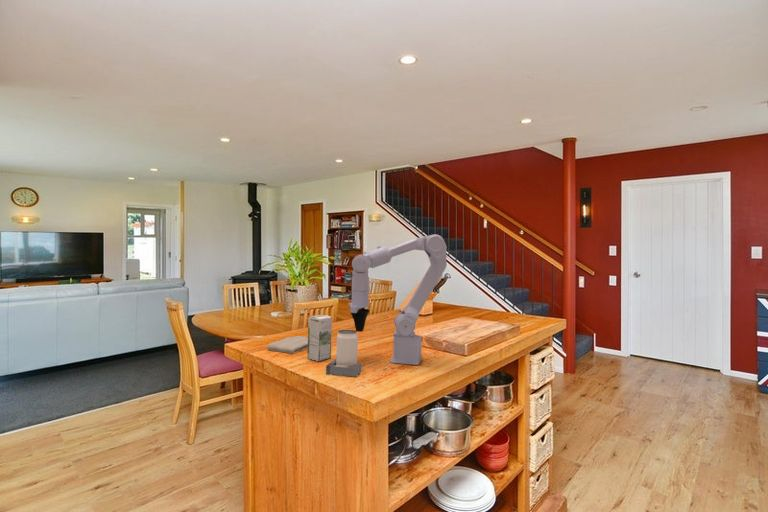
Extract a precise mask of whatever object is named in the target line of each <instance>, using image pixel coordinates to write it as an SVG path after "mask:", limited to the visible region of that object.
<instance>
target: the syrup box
mask: <svg viewBox="0 0 768 512" xmlns="http://www.w3.org/2000/svg"><path fill="white" fill-rule="evenodd" d="M332 320H333V317H332V316H329V315H326V314H317V315H312V316H308V321H307V323H308V325H307V327H308V328H307V330H308V331H307V338H308V349H307V354H306V355H307V356H306V357H307V358H306V359H308V360H311V359H312V360H311V361H314V360H316V361H315V362H318V361H319V362H322V361H326V360H328V359H331V357H332V356H331V355H332V331H333V330H332V328H333V326H332V325H333V324H332V323H333V321H332Z"/></svg>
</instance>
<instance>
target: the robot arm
mask: <svg viewBox="0 0 768 512" xmlns="http://www.w3.org/2000/svg"><path fill="white" fill-rule="evenodd" d="M447 249H448V246H447V244H446V241H445V240H444V238H443V237H442V236H441V235H439V234H435V233H434V234H430V235H426V236H422V237H415V238H412V239H410V240H408V241H405V242H402V243H400V244H398V245H397V244H396V245H394V246H392V247H387V246H385V245H382V246H381V245H378V246H376V248H375V249H372V250H370V251H363V254H358V255H356V256H354V258H353V259H352V261H351V268H352V269H353V270H352V272H351V273H352V277H351V302H348V303H347V305H348V306H350V307H349V308H350V309H349V310H350V311H349V312H350V315H351V317H352V319H353V323H354V329H355V331H357V332H360V333H361V332H364V330H365V325H366V321H367V318H368V317H367V316H368V315H369V313H370V309H369V307H370V303H369V302H370V301H369V297H370V295H369V293H370V292H369V291H370V290H369V289H370V277H369V269H370V268H371V269H375V268H378V267H380V266H382V265H385V264H387V263H390V262H391V261H392V258H393V257H396V256H399V255H402V254H405V253H408V252H411V251H414V250H416V251H424V252H425V254H426V255H427V256H428V257H427V258H428V260H429V263H430V265H429V267H428V268H427V271H426V273H425V274H424V276H423V278H422V279H421V281H420V282H419V284H418V286H417V288H416V290H415V291H414V293H413V294H412V295H411V298H410V299H409V301H408V303H407V304H406V306H404V308H403V309H402V311H401V312H399V313H398V314H396V316H395V318H394V322H393V323H394V326H395V330H394V332H393V342H392V343H393V348H392V349H393V350H392V353H393V354H392V357H391V359H390V361H389V363H391V364H403V365H413V366H414V365H415V366H418V365H419V364H420V362H421V361H422V345H423V343H422V336H421V335H416V333H415V329H416V323H417V321H418V319H419V316H420V312H421V311H422V309H423V307H424V306H425V304H426V302H427V300H429V298H430V296H431V294H432V292H433V290H434V288H435V287H436V286H437V283H438V282H439V280H440V279H441V277H442V275H443V274H444V272H445V270H446V268H447Z"/></svg>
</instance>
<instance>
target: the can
mask: <svg viewBox="0 0 768 512" xmlns="http://www.w3.org/2000/svg"><path fill="white" fill-rule="evenodd" d="M358 340H359V337H358V331H356V329H355V330H354V329H340V330H338V333H337V335H336V350H335V351H336V353H335V355H336V356H335V359H336V365H347V366H348V367H354V366H355V365H356V364H357V363H358V353H359V351H358V350H359V349H358V345H359V344H358V343H359V342H358Z"/></svg>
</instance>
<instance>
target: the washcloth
mask: <svg viewBox="0 0 768 512" xmlns="http://www.w3.org/2000/svg"><path fill="white" fill-rule="evenodd" d="M307 348H308V336H304V335H303V336H301V335H295V336H287V337H285V338H283V339H279V340H276V341H273V342H270V343H269V344H268V345H267V348H266V349H267V350H269V351H273V352H278V353H285V354H290V353H291V355H294V353H295V354H297V353H300V352H302V351H305V350H308V349H307ZM304 349H305V350H304ZM301 350H302V351H301ZM299 351H300V352H299Z"/></svg>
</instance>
